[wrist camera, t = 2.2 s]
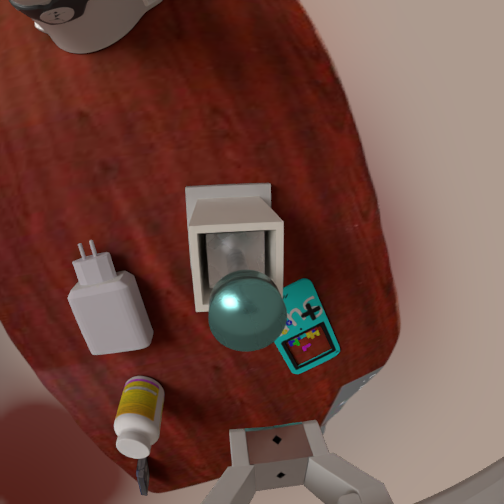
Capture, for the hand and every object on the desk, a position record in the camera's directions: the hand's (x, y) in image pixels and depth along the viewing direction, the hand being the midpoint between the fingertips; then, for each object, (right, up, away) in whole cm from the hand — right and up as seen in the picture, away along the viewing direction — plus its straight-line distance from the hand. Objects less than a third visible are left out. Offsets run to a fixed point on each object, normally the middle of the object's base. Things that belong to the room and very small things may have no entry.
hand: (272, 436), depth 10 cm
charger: (-20, +1, +31) cm, 37 cm away
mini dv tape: (-23, -38, +43) cm, 62 cm away
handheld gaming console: (+6, -5, +37) cm, 38 cm away
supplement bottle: (-18, -16, +37) cm, 44 cm away
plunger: (-2, +6, +19) cm, 20 cm away
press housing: (-3, +10, +30) cm, 32 cm away
